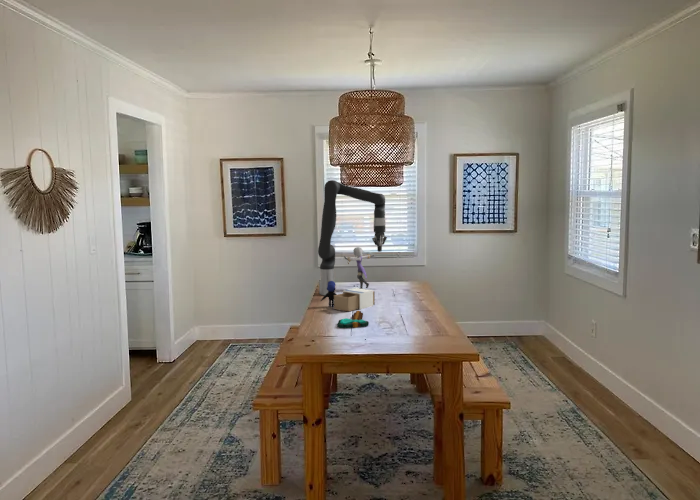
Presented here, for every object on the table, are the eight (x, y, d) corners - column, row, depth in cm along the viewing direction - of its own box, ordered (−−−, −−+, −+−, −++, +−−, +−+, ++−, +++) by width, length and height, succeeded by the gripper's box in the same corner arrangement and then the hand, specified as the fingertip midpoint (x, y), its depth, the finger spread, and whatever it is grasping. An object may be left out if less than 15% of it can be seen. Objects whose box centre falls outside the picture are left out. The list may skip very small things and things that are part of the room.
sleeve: (355, 303, 338) (355, 287, 337) (373, 306, 329) (373, 290, 328) (342, 306, 329) (342, 290, 328) (360, 309, 320) (360, 293, 319)
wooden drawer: (360, 302, 339) (360, 289, 338) (374, 304, 332) (374, 291, 331) (334, 308, 321) (333, 295, 320) (348, 311, 314) (348, 297, 313)
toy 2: (342, 315, 308) (336, 329, 278) (342, 310, 307) (336, 323, 278) (370, 315, 306) (367, 329, 277) (370, 310, 306) (367, 323, 276)
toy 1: (343, 305, 333) (342, 280, 331) (341, 307, 327) (341, 282, 325) (321, 304, 334) (321, 280, 333) (320, 307, 328) (319, 282, 327)
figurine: (345, 287, 391) (344, 245, 388) (374, 287, 390) (374, 245, 387) (343, 291, 375) (343, 248, 372) (374, 291, 374) (374, 247, 370)
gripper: (381, 224, 363) (381, 250, 365) (368, 225, 353) (368, 252, 355) (390, 224, 358) (390, 251, 360) (377, 225, 348) (377, 252, 350)
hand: (379, 251), depth 358 cm, fingers closed
